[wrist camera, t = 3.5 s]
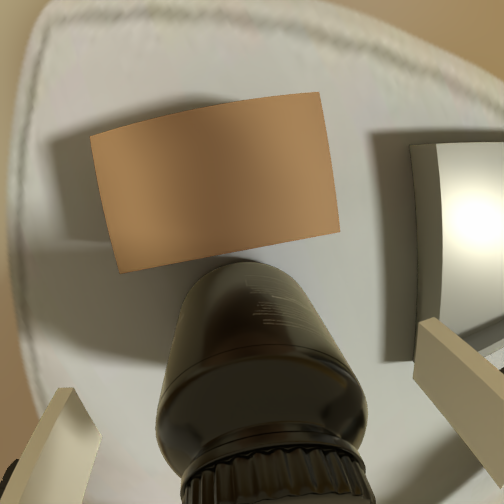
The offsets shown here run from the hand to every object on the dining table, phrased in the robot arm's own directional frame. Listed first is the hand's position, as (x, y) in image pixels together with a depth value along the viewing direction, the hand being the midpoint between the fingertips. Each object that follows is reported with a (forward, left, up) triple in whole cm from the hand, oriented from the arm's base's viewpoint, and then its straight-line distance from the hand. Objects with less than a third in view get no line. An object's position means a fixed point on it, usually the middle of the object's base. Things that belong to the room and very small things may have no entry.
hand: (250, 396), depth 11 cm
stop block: (0, -7, -6) cm, 10 cm away
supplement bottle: (0, 0, -7) cm, 7 cm away
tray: (-17, -1, -6) cm, 18 cm away
